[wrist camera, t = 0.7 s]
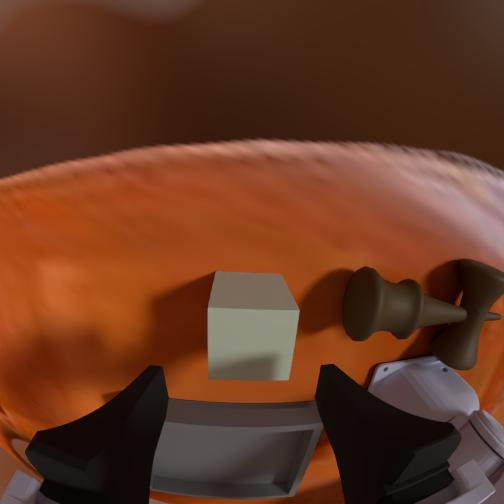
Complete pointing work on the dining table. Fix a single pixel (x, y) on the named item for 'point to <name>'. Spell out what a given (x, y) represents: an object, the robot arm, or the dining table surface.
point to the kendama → (424, 310)
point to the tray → (235, 449)
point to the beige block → (251, 327)
